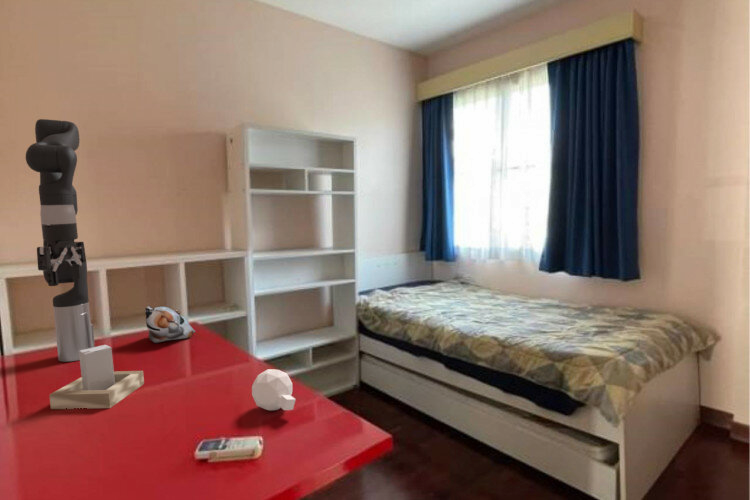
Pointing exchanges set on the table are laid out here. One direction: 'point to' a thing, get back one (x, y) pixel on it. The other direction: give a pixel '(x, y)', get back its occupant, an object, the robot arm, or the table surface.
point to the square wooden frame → (96, 392)
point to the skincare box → (97, 368)
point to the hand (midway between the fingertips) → (65, 282)
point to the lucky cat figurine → (166, 324)
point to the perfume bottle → (273, 390)
